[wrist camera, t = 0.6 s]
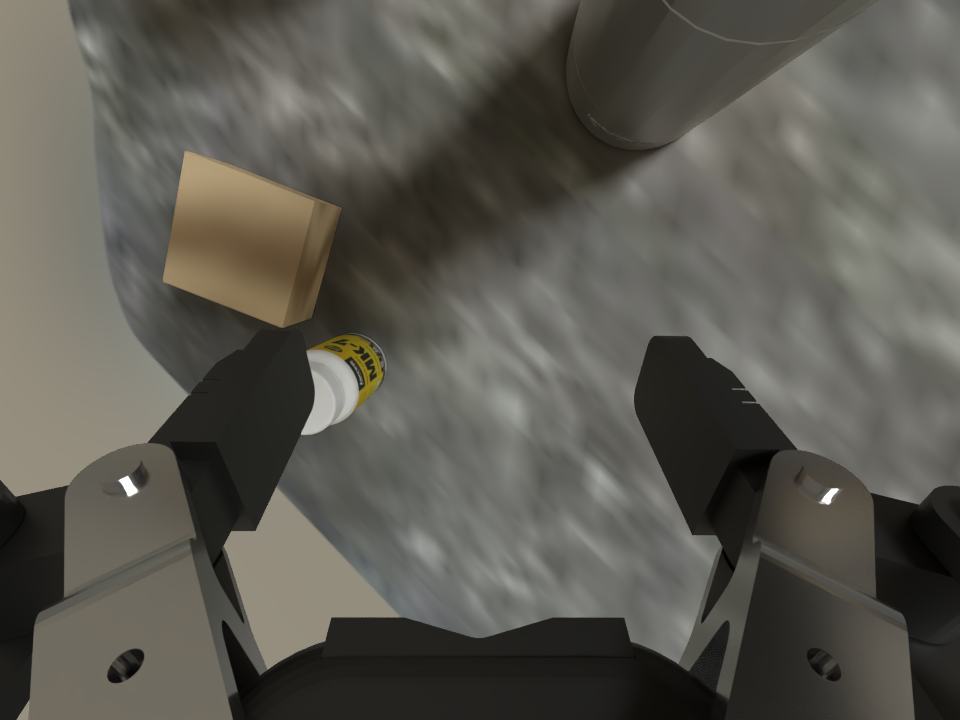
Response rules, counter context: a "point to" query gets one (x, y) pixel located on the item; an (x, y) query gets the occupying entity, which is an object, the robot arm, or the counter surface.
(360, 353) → the supplement bottle
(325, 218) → the oak block
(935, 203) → the counter surface
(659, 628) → the counter surface
